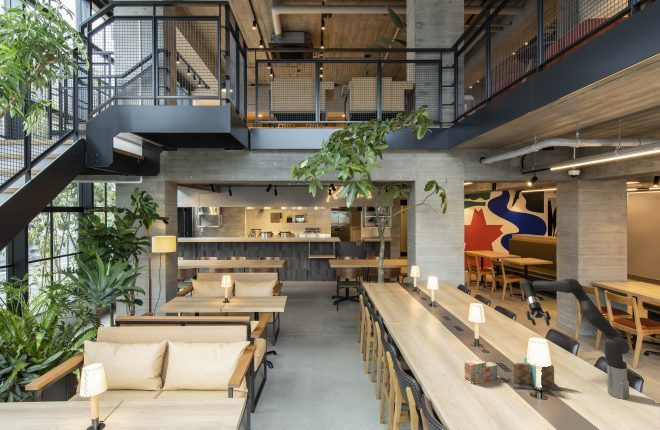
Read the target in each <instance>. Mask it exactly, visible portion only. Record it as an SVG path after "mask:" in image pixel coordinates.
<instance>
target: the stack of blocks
mask: <svg viewBox="0 0 660 430" xmlns="http://www.w3.org/2000/svg"><path fill="white" fill-rule="evenodd" d="M463 369H464V380H465V379H466V380H468V381H470V382H471V383H472V382H479V383H483V382H482V381H484V382H488V381H487V380H489V381H493V380H494V381H495V380H498V379H499V378H498V364H496V363H494V362H493V361H492V362H491V361H487V362H486V361H485V360H482V359H481V358H480V359H473V360H467V361H464V367H463ZM466 380H465V381H466ZM471 383H470V384H471Z"/></svg>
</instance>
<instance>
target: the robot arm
mask: <svg viewBox="0 0 660 430" xmlns="http://www.w3.org/2000/svg"><path fill="white" fill-rule="evenodd" d="M519 285H520V289H521V290H522V292H523V293H524V295H525V299H526V301H527V305H528V308H529V310H527V311H526V313H525V314H526V319H527V320H528V321H531V324H532V326H536V325H537V324H536V320H535V318H536V319H542V320H544V321H545V323H546V326H547V327H549V326H550V324H551V323H550V321H551V319H552V316H550V313H549V311H548V310H547V311H544V310H543V308H542V307H543V306H542V304H541V303H540V300H539V298H538V296H537V293H536V291H555V292H560V293H565V294H572V295H573V296H574V297H575V298H576V300H577V302H578V305H579V307H580V312H581V314H582V315H583V316H584V318H585V319H586V321H587V322H588V323H589V324H590V325H591V326H593V327H595V329H597V330H599V331H600V332H601V333H602V334H603V336H605V337H606V339H607V340H606V341H605V343H604V355H605V361H606V363H607V364H606V366H607V367H606V368H607V370H606V372H607V373H606V374H607V376H606V378H607V379H606V380H607V394H608V395H609V396H611V397H613V398H618V399H621V400H626V399H628V398H630V381H629V380H628V364H627V362H626V361H624V359H623V355H626V354H628V353H629V351H630V345H629V343H628V342H627V341H626V339H625V338H624V337H623V336H622V335H621V334H620V333H619V332H618V331H617V330H616V329H615V328H614V327H613V325H612V324H611V323H610V322H609V320H608V319H607V318H606V317H605V315H604V314H603V313H602V312H601V311H600V309H599V307H598V306H597V305H595V303H594V301H593V300H592V299H591V298H590V296H589V295H588V294H587V292H586V291H585V290H584V287H582V285H581V284H580V282H579V281H578V280H577V279H575V278H565V279H562V280H561V279H560V280H556V281H554V280H553V281H550V280H534V281H533V282H532V281H530V280H528V279H525V278H524V279H522V280H520V281H519ZM531 315H532V317H531Z"/></svg>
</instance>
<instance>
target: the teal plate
mask: <svg viewBox="0 0 660 430" xmlns="http://www.w3.org/2000/svg"><path fill="white" fill-rule="evenodd" d="M527 358H528V357H524V361H523V362H524V363H527ZM528 364H529V363H528ZM529 365H530V373H531V374H532V385H533V386H534V387H535V385H536V366H534V365H531V364H529ZM541 385H542V375H541Z"/></svg>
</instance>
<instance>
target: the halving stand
mask: <svg viewBox="0 0 660 430" xmlns="http://www.w3.org/2000/svg"><path fill="white" fill-rule="evenodd" d="M511 368H512V369H511V372H512V373H511V375H512V376H511V377H512V378H506V379H507V382H508V383H509V384H510V385H511V387H512V388H513V390H514V389H515V390H517V389H518V390H534V389H535V387H534V386H533V385H532V374H531V373H530V365H529V364H528V363H523V362H511ZM541 372H542V391H554V392H555V391H557V392H560V391H561V388H560V387H559V386H558V385H557V384H556V383H555V365H553V364H551V366H548V367H542V370H541Z"/></svg>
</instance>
